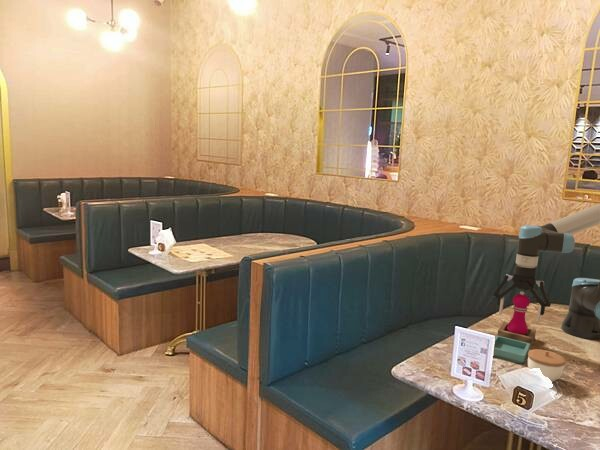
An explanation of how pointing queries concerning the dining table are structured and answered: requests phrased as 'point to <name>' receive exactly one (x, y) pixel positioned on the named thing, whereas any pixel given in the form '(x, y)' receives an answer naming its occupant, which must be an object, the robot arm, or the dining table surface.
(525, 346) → the teal tray
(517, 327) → the pepper mill
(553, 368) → the lidded jar
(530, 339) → the walnut holder
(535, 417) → the dining table surface
